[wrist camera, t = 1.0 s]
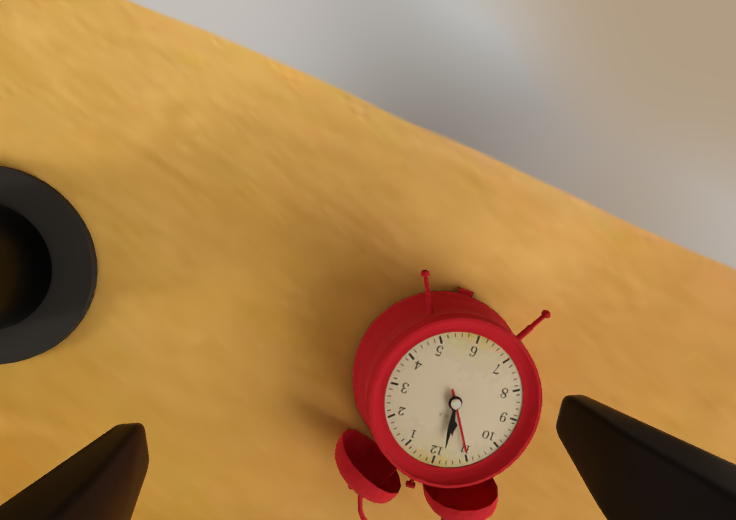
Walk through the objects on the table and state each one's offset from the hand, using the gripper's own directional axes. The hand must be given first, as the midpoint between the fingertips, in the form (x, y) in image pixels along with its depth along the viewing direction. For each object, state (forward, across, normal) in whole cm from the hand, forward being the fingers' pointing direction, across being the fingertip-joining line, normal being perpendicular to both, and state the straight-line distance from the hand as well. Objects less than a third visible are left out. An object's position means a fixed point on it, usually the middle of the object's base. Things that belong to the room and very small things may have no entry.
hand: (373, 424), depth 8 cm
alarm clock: (+12, -6, +9) cm, 16 cm away
